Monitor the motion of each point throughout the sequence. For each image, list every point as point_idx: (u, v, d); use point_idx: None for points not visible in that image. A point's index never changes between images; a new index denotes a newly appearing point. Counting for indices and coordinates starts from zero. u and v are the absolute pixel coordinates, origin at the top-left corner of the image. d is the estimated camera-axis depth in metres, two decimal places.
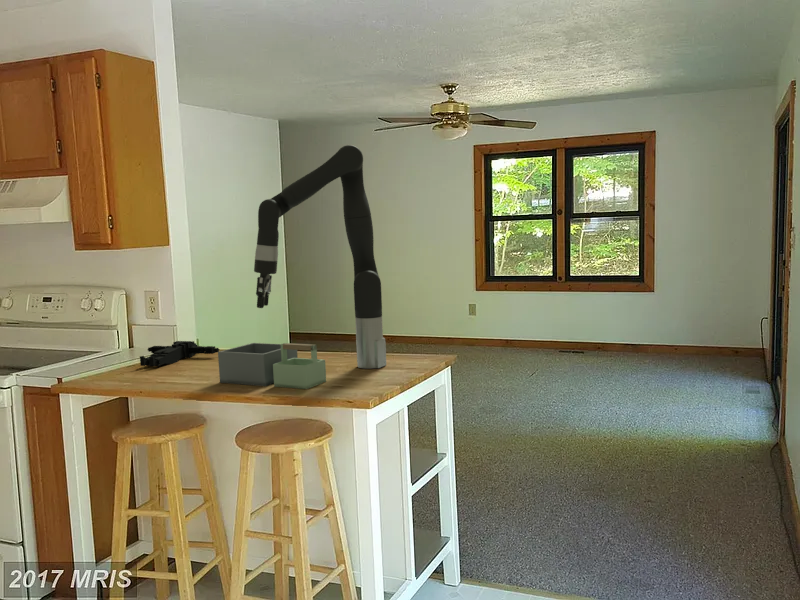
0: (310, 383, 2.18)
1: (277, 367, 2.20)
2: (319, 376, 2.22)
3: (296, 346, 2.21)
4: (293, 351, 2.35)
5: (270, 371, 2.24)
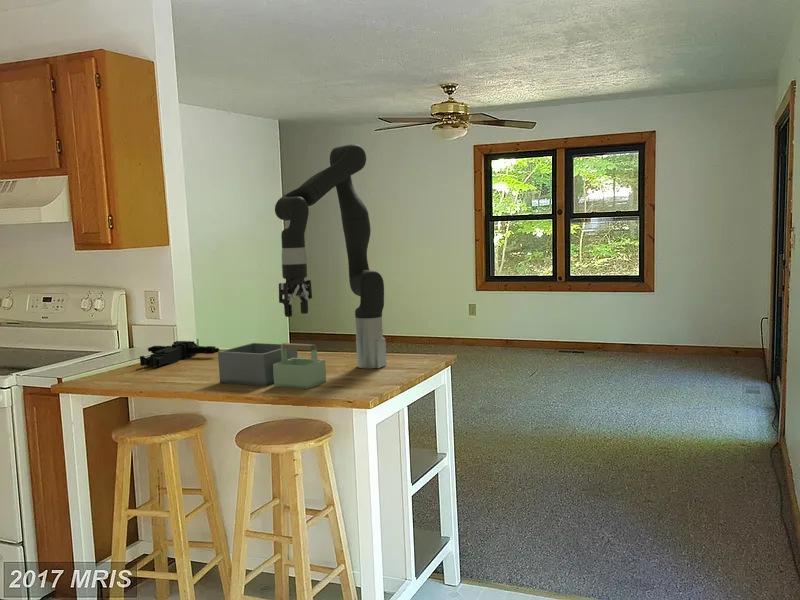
0: (310, 383, 2.18)
1: (277, 367, 2.20)
2: (319, 376, 2.22)
3: (296, 346, 2.21)
4: (293, 351, 2.35)
5: (270, 371, 2.24)
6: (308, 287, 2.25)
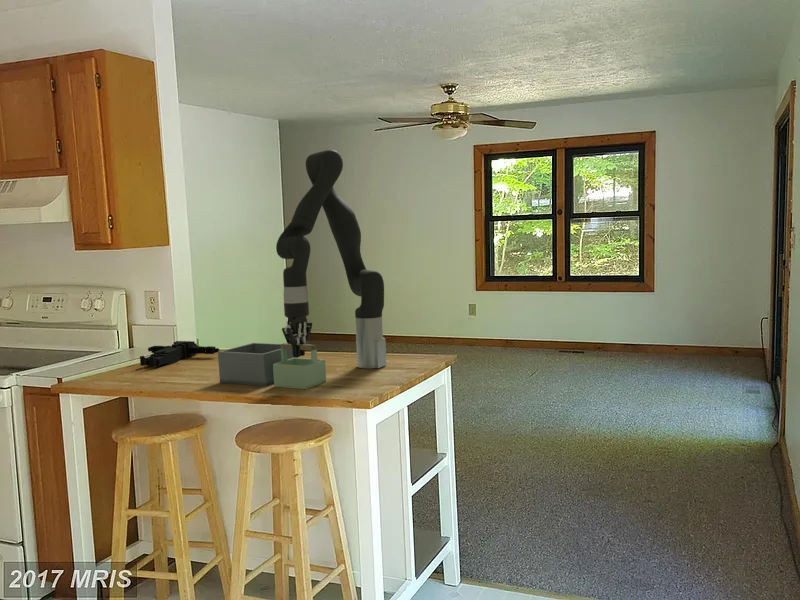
0: (310, 383, 2.18)
1: (277, 367, 2.20)
2: (319, 376, 2.22)
3: None
4: None
5: (270, 371, 2.24)
6: (308, 328, 2.25)
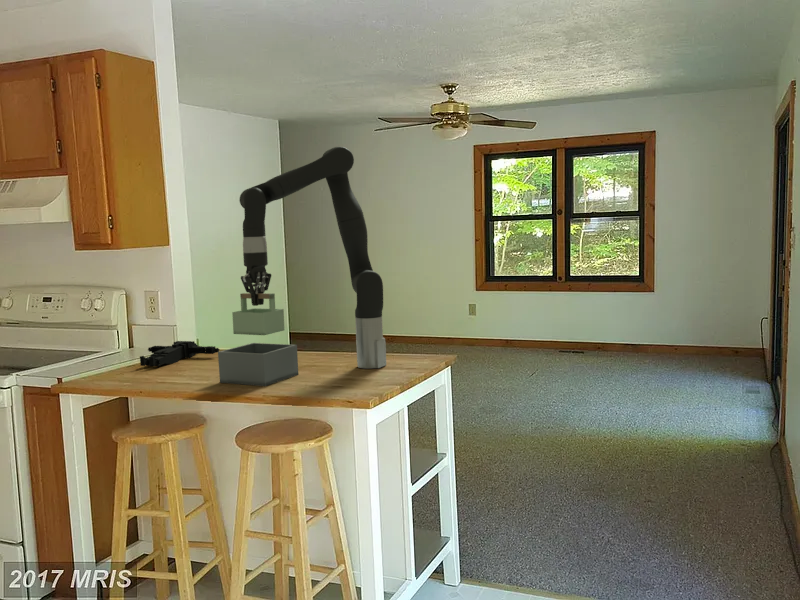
0: (268, 330, 2.26)
1: (236, 315, 2.28)
2: (277, 324, 2.30)
3: None
4: (293, 351, 2.35)
5: (270, 371, 2.24)
6: (267, 279, 2.34)
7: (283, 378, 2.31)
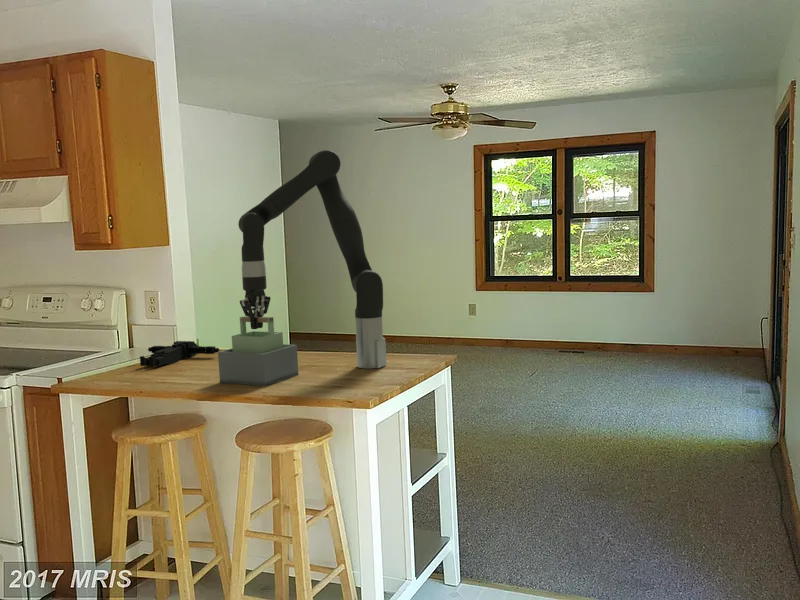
0: None
1: (235, 338, 2.30)
2: (276, 347, 2.32)
3: None
4: (293, 351, 2.35)
5: (270, 371, 2.24)
6: (266, 302, 2.35)
7: (283, 378, 2.31)
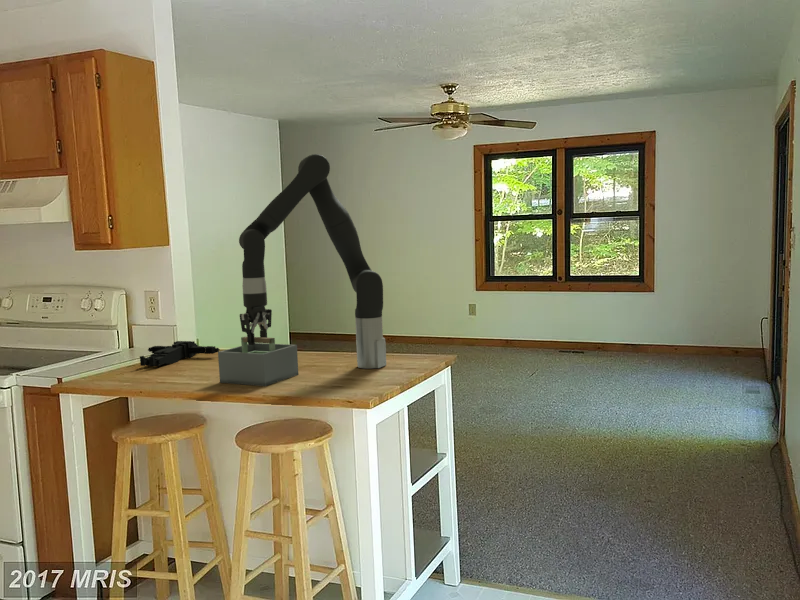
0: None
1: None
2: None
3: (255, 339, 2.32)
4: (293, 351, 2.35)
5: (270, 371, 2.24)
6: (268, 316, 2.37)
7: (283, 378, 2.31)
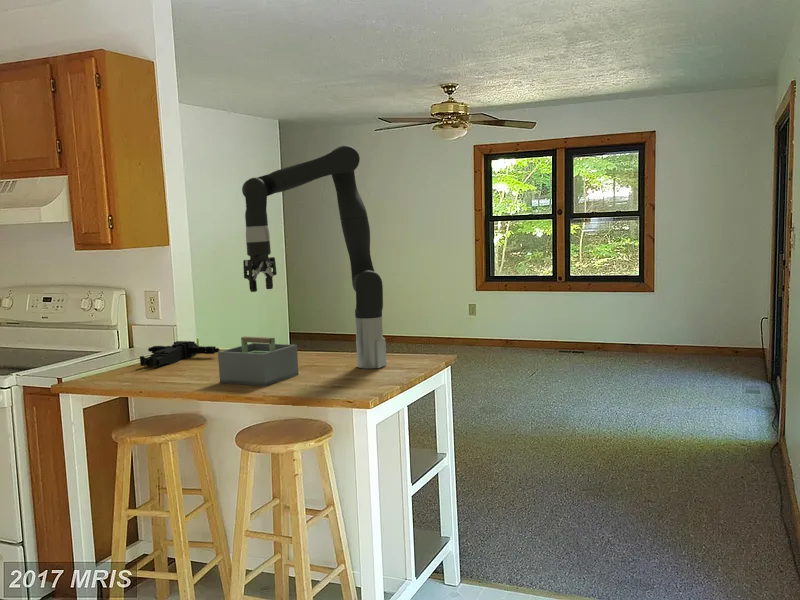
0: None
1: None
2: None
3: (255, 339, 2.32)
4: (293, 351, 2.35)
5: (270, 371, 2.24)
6: (272, 264, 2.37)
7: (283, 378, 2.31)
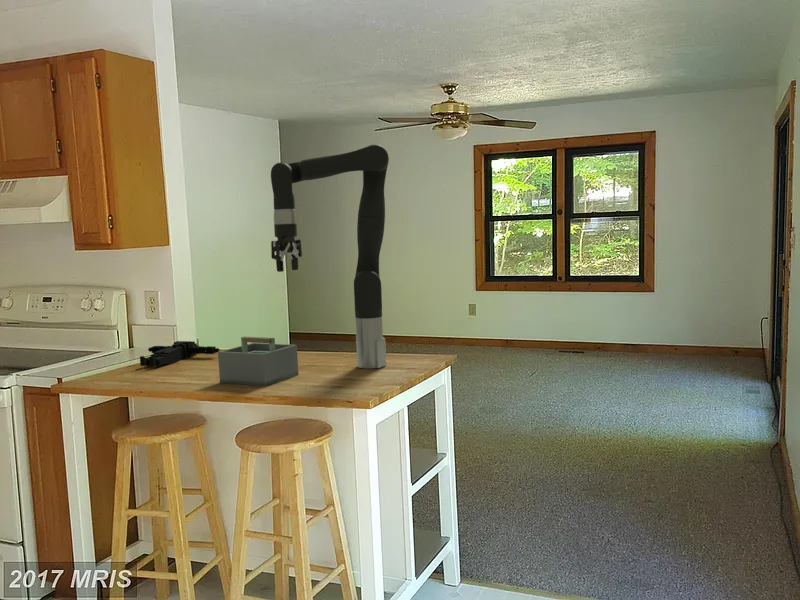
0: None
1: None
2: None
3: (255, 339, 2.32)
4: (293, 351, 2.35)
5: (270, 371, 2.24)
6: (298, 246, 2.48)
7: (283, 378, 2.31)
